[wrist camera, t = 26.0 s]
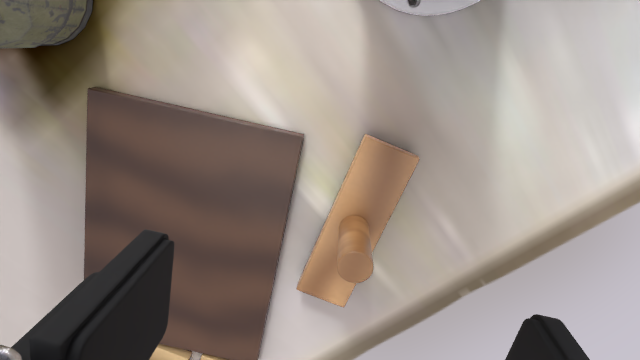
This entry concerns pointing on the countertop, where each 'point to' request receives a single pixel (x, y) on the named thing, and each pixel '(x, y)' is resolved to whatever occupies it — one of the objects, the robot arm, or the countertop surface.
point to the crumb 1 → (170, 353)
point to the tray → (192, 210)
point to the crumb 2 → (211, 357)
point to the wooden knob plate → (357, 220)
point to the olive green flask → (41, 21)
